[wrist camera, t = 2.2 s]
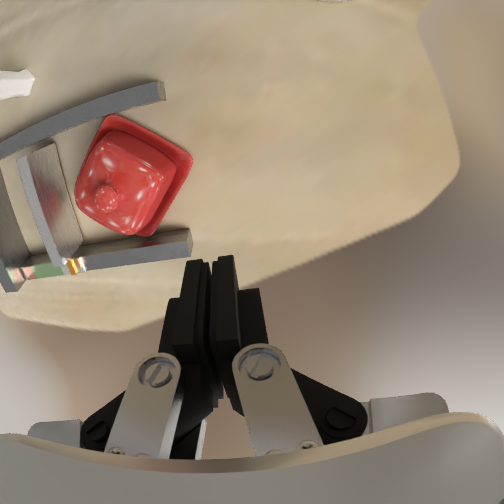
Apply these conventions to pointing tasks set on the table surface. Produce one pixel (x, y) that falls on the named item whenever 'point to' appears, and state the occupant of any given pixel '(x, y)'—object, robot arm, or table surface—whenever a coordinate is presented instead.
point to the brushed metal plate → (51, 205)
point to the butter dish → (130, 177)
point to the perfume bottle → (15, 84)
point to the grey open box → (90, 256)
